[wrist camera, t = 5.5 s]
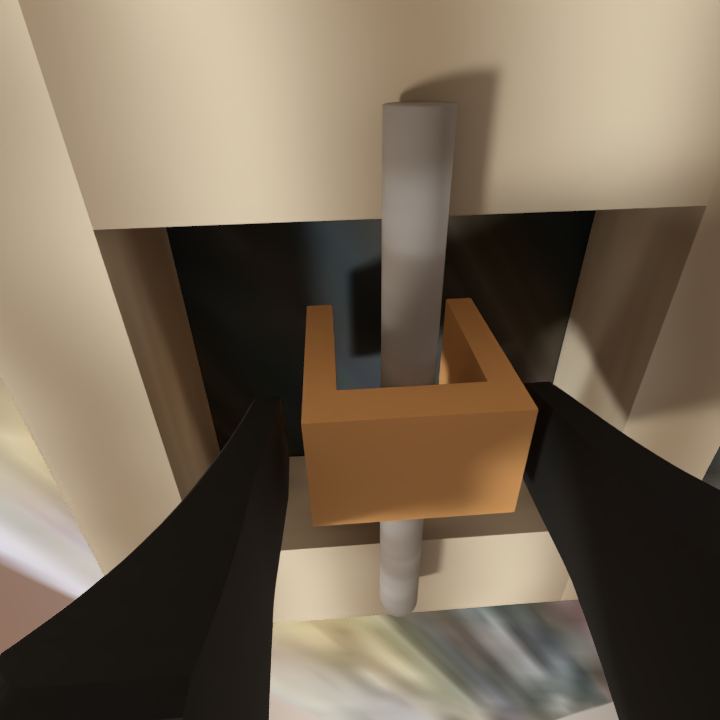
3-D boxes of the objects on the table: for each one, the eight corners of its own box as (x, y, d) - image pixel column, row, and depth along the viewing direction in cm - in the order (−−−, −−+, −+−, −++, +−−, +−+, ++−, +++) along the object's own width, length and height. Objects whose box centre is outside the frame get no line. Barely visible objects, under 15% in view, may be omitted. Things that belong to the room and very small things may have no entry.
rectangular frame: (781, -26, 11) (1087, -76, 7) (589, 505, 21) (661, 627, 16) (-40, -13, 10) (-314, -60, 6) (166, 535, 20) (122, 672, 16)
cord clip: (470, 297, 14) (538, 409, 9) (460, 384, 15) (514, 512, 11) (306, 305, 13) (300, 424, 9) (314, 392, 15) (313, 526, 11)
